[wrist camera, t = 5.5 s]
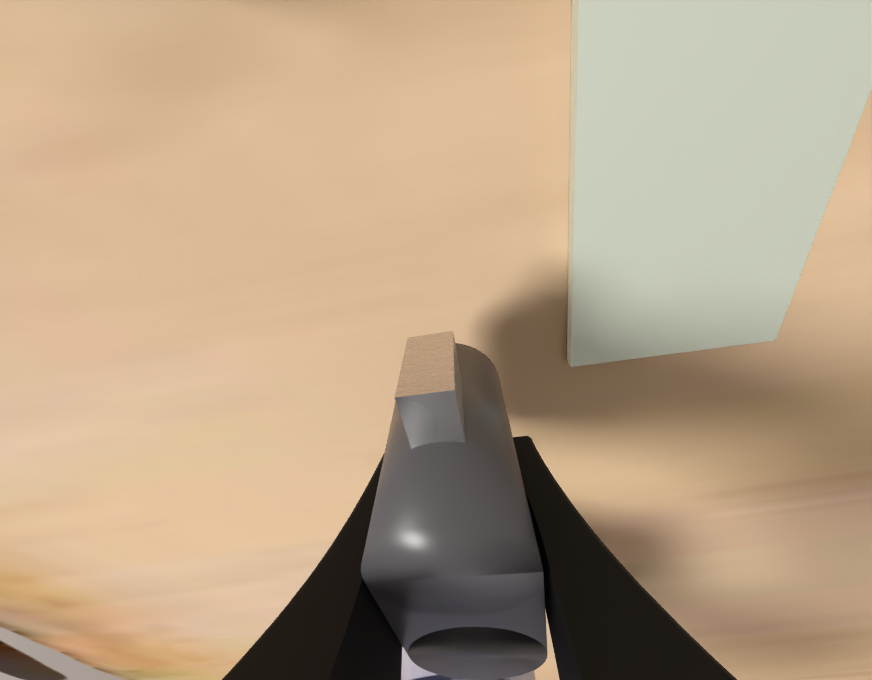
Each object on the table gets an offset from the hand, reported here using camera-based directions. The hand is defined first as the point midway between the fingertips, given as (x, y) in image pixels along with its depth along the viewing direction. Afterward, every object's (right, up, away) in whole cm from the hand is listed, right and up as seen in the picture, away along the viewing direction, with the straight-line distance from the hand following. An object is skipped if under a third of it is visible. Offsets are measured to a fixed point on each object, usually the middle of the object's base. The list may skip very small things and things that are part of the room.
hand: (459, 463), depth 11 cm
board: (+9, +10, +1) cm, 13 cm away
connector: (0, +1, +2) cm, 2 cm away
